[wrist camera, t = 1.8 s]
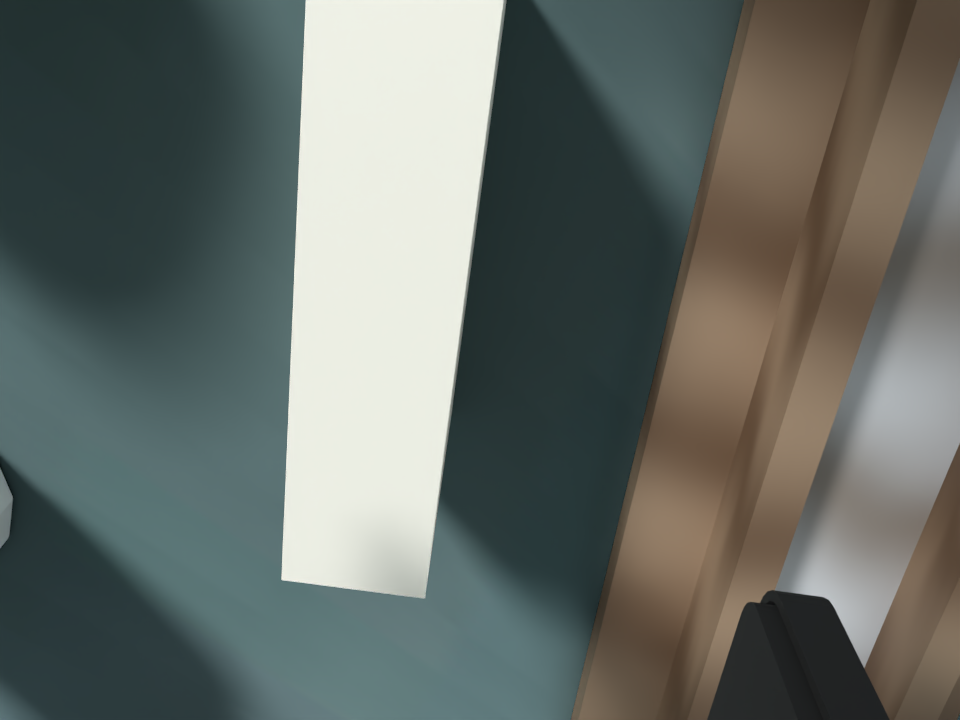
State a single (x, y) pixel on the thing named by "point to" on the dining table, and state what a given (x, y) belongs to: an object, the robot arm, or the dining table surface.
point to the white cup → (5, 509)
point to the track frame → (805, 372)
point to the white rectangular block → (381, 279)
